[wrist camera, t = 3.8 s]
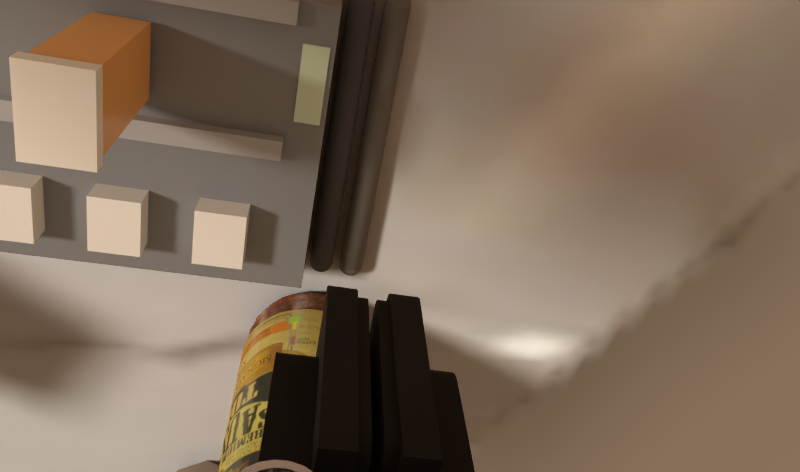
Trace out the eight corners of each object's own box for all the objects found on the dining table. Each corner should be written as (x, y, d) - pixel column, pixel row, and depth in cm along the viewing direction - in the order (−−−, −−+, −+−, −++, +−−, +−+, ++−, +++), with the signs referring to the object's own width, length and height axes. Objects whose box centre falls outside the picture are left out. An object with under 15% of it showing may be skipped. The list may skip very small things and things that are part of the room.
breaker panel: (-68, -83, 26) (-137, -72, 22) (342, -8, 28) (341, 13, 24) (-37, 210, 31) (-87, 257, 28) (304, 253, 33) (299, 303, 30)
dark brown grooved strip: (351, -20, 28) (352, -16, 27) (411, -9, 28) (413, -4, 27) (309, 263, 34) (308, 274, 33) (359, 269, 34) (359, 280, 33)
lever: (88, 8, 24) (9, 57, 19) (153, 19, 25) (95, 70, 19) (89, 91, 26) (16, 161, 20) (151, 101, 26) (96, 172, 20)
